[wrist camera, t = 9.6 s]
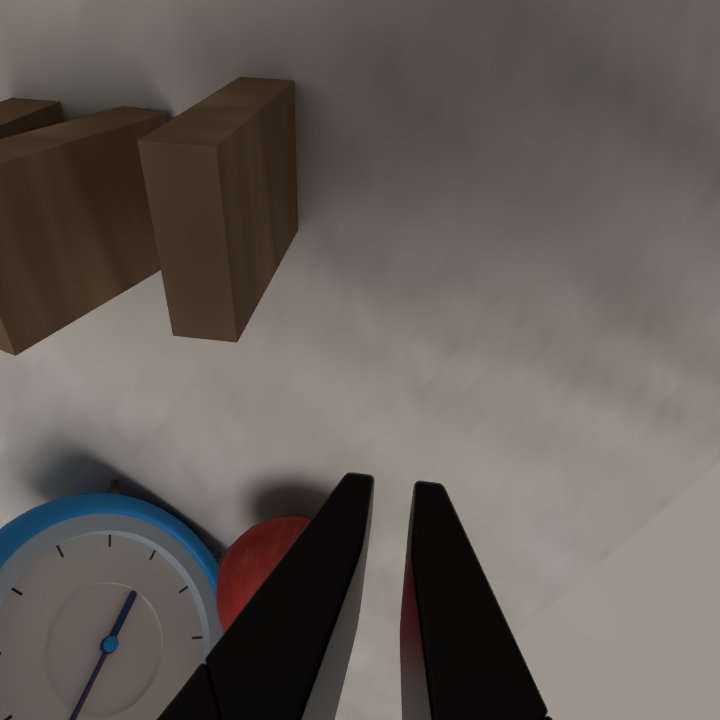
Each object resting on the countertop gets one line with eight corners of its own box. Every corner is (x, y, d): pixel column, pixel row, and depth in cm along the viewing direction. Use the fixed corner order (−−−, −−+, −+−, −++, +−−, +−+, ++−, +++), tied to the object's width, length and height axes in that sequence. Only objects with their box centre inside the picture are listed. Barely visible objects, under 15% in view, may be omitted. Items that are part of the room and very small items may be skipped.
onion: (349, 475, 26) (314, 650, 20) (371, 555, 29) (348, 728, 23) (229, 479, 27) (159, 645, 21) (263, 556, 30) (212, 720, 24)
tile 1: (293, 80, 17) (216, 146, 11) (298, 230, 19) (236, 342, 14) (239, 76, 17) (137, 140, 11) (251, 226, 20) (173, 335, 14)
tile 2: (164, 113, 17) (-54, 178, 12) (186, 254, 20) (15, 355, 15) (123, 106, 18) (-102, 165, 13) (150, 244, 20) (-27, 339, 15)
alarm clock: (274, 578, 31) (162, 972, 19) (205, 610, 34) (71, 970, 22) (70, 432, 27) (-244, 833, 15) (11, 484, 30) (-293, 854, 18)
